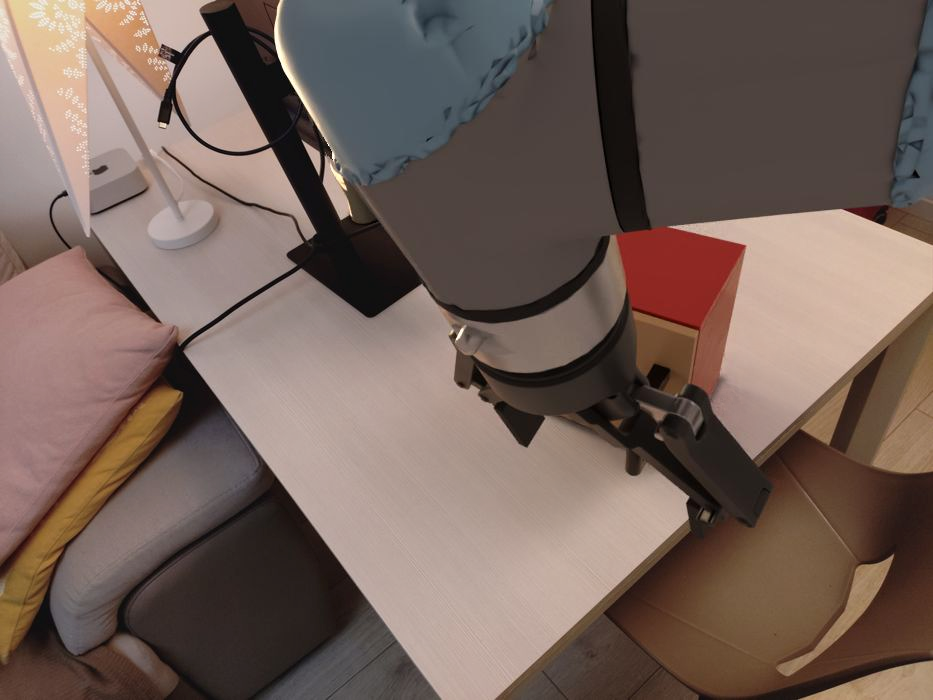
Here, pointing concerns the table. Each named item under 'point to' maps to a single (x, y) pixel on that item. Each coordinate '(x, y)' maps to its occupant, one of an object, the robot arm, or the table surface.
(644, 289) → the cabinet
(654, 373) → the cabinet door
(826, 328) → the table surface
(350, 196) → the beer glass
